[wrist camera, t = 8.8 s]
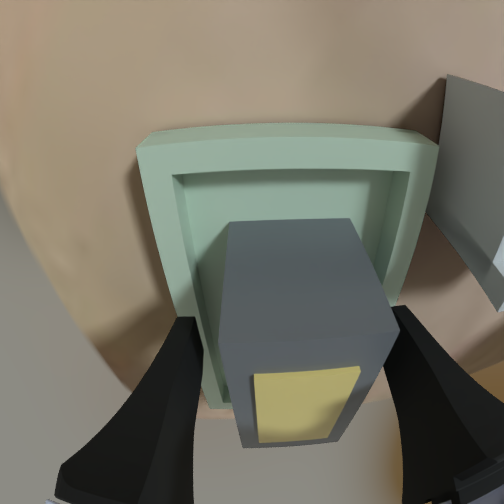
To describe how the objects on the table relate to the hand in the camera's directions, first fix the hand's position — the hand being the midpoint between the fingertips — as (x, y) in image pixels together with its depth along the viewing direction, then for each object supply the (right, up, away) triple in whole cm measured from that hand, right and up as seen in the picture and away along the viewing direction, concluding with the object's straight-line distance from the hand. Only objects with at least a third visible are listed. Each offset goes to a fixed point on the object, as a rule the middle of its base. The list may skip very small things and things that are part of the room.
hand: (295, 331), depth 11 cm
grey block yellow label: (0, +1, +3) cm, 3 cm away
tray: (0, 0, +4) cm, 4 cm away
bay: (+10, +7, -1) cm, 12 cm away
